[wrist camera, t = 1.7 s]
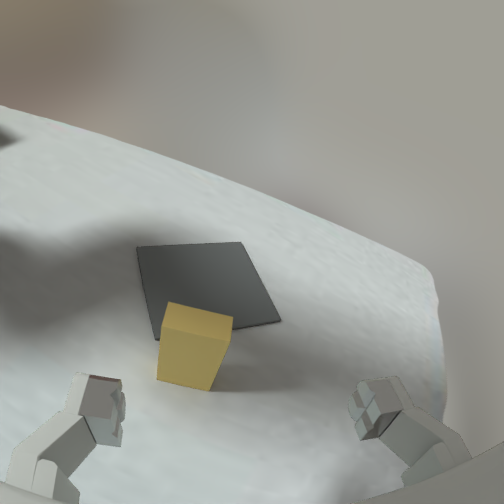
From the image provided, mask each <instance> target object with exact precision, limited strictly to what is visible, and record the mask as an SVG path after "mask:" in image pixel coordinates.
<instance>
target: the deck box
mask: <svg viewBox="0 0 504 504" xmlns="http://www.w3.org/2000/svg"><path fill="white" fill-rule="evenodd" d="M232 323H233V317H231V316H227V315H222V314H218V313H214V312H209V311H205V310H201V309H197V308H193V307H188V306H184V305H180V304H176V303H172V302H168V305H167V308H166V312H165V315H164V319H163V322H162V326H161V336H160V346H159V357H158V370H157V380H160V381H164V382H168V383H173V384H177V385H181V386H186V387H190V388H195V389H200V390H205V391H209V390H210V388H211V386H212V383H213V381H214V379H215V376H216V374H217V372H218V369H219V367H220V365H221V363H222V360H223V358H224V356H225V353H226V351H227V349H228V346H229V344H230V341H231V332H232Z"/></svg>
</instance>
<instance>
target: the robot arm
mask: <svg viewBox="0 0 504 504" xmlns="http://www.w3.org/2000/svg"><path fill="white" fill-rule="evenodd" d="M356 387H357V391H356V392H354V393H353V394H352V395H351V397H350V399H349V403H348V409H349V414H350V416H351V418H352V419H354V420H355V421H356V424H355V429H356V432H357V434H358V437H359V439H360V441H362V440H368V439H373V438H379V437H380V438H379V439H380V440H381V441H382V442H383V443H384V444H385V445H386V446H388V447H389V448H390V449H391V450H392V451H393V452H394V453H395V454H396V455H397V456H398V457H400V458H401V459H402V460H403V461H404V462H405V463H406V464H407V465H408V466H410V468H408V469H407V470H406V471H405V472H404V473H403V474H402V476H401V478H402V480H403V483H404V486H405V487H404V488H401V489H398V490H395V491H392V492H389V493H386V494H383V495H380V496H376V497H373V498H369V499H366V500H362V501H358V502H354V503H350V504H504V442H502V443H500V444H498V445H497V446H495V447H493V448H491V449H489V450H488V451H486V452H484V453H482V454H480V455H478V456H476V457H474V458H472V457H471V455H470V453H469V451H468V450H467V448H466V446H465V444H464V442H463V440H462V438H461V436H460V435H459V434H458V433H456V432H455V431H453V430H452V429H450V428H449V427H447V426H445V425H444V424H443V423H441V422H440V421H438V420H437V419H435V418H434V417H432V416H431V415H429V414H428V413H426V412H425V411H423V410H422V409H420V408H419V407H415V406H414V405H413V403H412V401H411V399H410V397H409V395H408V394H407V392H406V390H405V388H404V386H403V385H402V383H401V381H400V379H399V378H398V377H397V376H392V377H385V378H376V379H368V380H362V381H360V382H359V383H358V385H357V386H356ZM121 391H122V382H121V379H114V378H108V377H102V376H96V375H90V374H84V373H78V372H77V373H76V374H75V375H74V377H73V380H72V383H71V387H70V390H69V393H68V397H67V400H66V403H65V407H64V410H63V412H61V411H59V412H57V413H56V414H55V415H54V416H53V417H51V418H50V419H49V420H48V421H47V422H45V423H44V424H43V425H42V426H41V427H39V428H38V429H37V430H36V431H35V432H33V433H32V434H31V435H30V436H29V437H27V438H26V439H25V440H24V441H22V442H21V443H20V444H19V445H18V446H16V447H15V448H14V450H13V453H12V457H11V461H10V464H9V468H8V472H7V476H6V480H5V482H2V481H0V504H79V496H80V492H79V491H78V489H77V488H76V487H75V486H74V485H73V484H72V483H71V481H70V480H69V479H68V478H69V476H70V475H71V474H72V473H73V472H74V471H75V470H76V468H77V467H78V466H79V465H80V464H81V463H82V462H83V460H84V459H85V458H86V457H87V456H88V455H89V454H90V452H91V451H92V450H93V449H94V448H95V447H96V446H97V445H96V444H100V445H107V446H115V447H121V441H122V434H123V429H122V426H121V422H122V421H124V419H125V407H126V403H125V395H124V393H123V392H121Z"/></svg>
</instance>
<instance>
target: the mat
mask: <svg viewBox="0 0 504 504" xmlns="http://www.w3.org/2000/svg"><path fill="white" fill-rule="evenodd" d="M137 253H138V259H139V265H140V270H141V276H142V281H143V286H144V291H145V296H146V301H147V306H148V310H149V315H150V319H151V324H152V328H153V332H154V337H155V340H160V336H161V326H162V322H163V319H164V315H165V312H166V308H167V305H168V302H172V303H176V304H180V305H184V306H188V307H193V308H197V309H201V310H205V311H209V312H214V313H218V314H222V315H227V316H231V317H233V323H232V330H233V329H239V328H245V327H251V326H257V325H263V324H268V323H274V322H279V321H280V320H281V319H280V317H279V315H278V313H277V311H276V309H275V307H274V305H273V303H272V301H271V299H270V298H269V296H268V294H267V292H266V290H265V288H264V286H263V284H262V282H261V280H260V278H259V276H258V274H257V272H256V270H255V268H254V266H253V265H252V263H251V261H250V259H249V257H248V255H247V253H246V251H245V249H244V247H243V245H242V243H241V242H226V243H205V244H184V245H164V246H144V247H137Z"/></svg>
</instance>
